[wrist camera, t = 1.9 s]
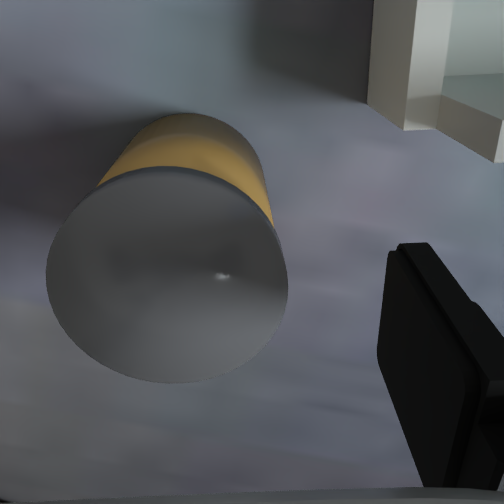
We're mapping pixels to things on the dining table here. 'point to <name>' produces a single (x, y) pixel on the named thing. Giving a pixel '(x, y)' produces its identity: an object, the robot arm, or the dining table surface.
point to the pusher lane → (441, 69)
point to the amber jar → (172, 256)
